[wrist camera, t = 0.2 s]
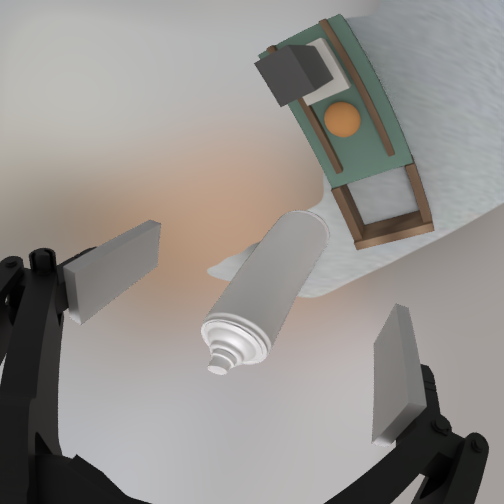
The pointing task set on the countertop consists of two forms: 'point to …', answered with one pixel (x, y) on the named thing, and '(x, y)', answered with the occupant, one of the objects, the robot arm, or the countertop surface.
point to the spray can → (263, 292)
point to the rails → (363, 92)
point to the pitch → (367, 137)
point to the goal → (389, 227)
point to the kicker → (303, 72)
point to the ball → (342, 119)
